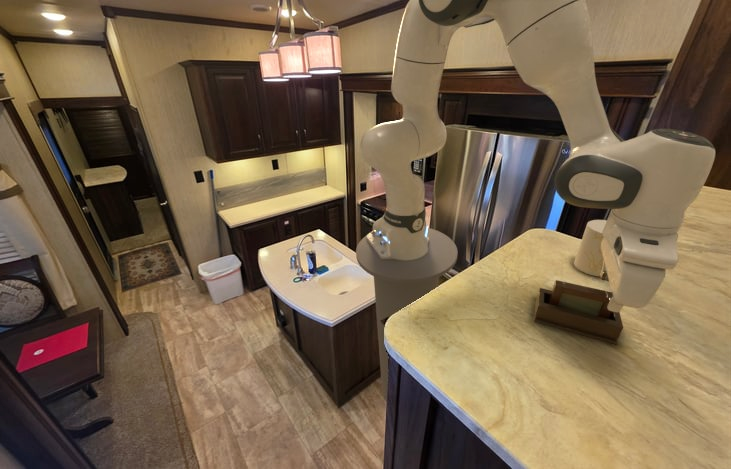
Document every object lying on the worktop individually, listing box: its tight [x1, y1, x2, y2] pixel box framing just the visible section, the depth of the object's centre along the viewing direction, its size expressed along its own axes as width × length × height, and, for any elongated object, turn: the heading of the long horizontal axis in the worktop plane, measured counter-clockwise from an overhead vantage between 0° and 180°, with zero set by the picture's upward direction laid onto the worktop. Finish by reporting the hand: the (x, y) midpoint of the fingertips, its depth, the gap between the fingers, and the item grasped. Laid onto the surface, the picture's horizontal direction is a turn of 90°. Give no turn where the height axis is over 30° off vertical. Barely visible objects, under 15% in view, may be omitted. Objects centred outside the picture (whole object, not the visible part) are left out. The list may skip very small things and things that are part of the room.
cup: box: [573, 219, 607, 277], centre depth 74 cm, size 8×8×12 cm
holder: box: [533, 287, 624, 345], centre depth 60 cm, size 8×14×4 cm, turn 61°
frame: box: [548, 279, 613, 319], centre depth 59 cm, size 2×10×8 cm, turn 60°
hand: (608, 293), depth 56 cm, fingers open, 8 cm apart
